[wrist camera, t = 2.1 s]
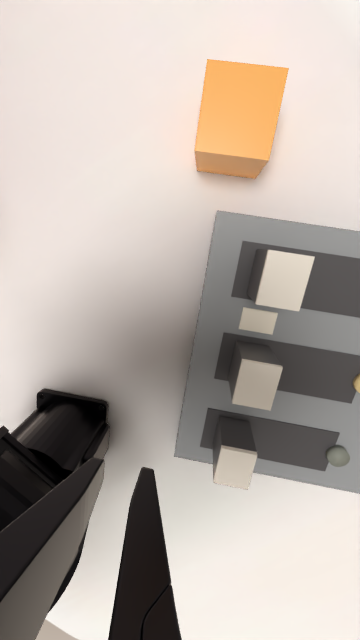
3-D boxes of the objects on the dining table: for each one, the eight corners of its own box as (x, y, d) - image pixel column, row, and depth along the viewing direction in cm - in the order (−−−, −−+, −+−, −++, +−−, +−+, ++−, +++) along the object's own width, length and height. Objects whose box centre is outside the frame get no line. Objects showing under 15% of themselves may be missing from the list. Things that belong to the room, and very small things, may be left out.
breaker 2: (228, 376, 20) (232, 403, 16) (236, 340, 19) (242, 360, 16) (259, 382, 20) (270, 410, 16) (269, 346, 19) (282, 367, 15)
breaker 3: (212, 446, 22) (213, 482, 18) (219, 415, 21) (221, 448, 17) (241, 451, 21) (247, 489, 18) (249, 421, 21) (257, 455, 17)
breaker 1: (246, 293, 18) (255, 304, 15) (256, 249, 17) (269, 249, 14) (281, 299, 18) (299, 311, 14) (293, 254, 17) (314, 256, 14)
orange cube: (197, 171, 18) (194, 150, 14) (207, 102, 17) (207, 59, 13) (255, 179, 18) (268, 160, 14) (269, 109, 16) (288, 68, 13)
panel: (175, 443, 24) (172, 467, 21) (216, 213, 18) (217, 207, 16) (403, 489, 23) (428, 519, 20) (521, 258, 17) (577, 260, 15)
